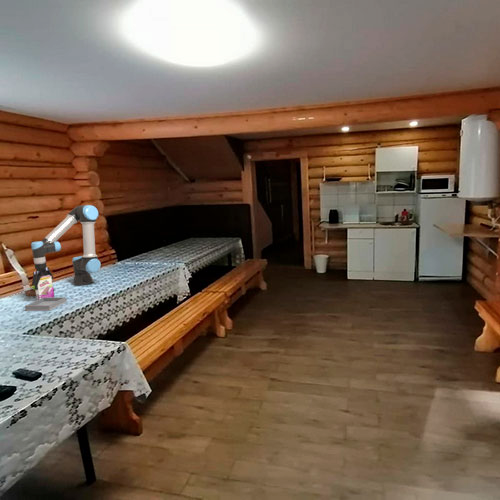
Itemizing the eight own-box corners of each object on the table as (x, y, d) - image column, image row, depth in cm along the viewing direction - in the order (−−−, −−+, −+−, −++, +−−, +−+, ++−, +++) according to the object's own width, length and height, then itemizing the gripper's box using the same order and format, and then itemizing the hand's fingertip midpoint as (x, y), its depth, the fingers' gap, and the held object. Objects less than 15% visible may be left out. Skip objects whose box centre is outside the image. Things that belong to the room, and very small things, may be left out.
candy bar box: (38, 301, 277) (35, 279, 274) (36, 299, 280) (32, 278, 277) (55, 297, 284) (51, 275, 281) (52, 295, 288) (49, 274, 285)
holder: (43, 302, 273) (43, 297, 272) (66, 301, 270) (66, 297, 269) (25, 310, 255) (24, 305, 255) (49, 310, 252) (49, 305, 252)
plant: (47, 287, 314) (44, 274, 312) (57, 291, 302) (55, 277, 300) (20, 294, 299) (18, 280, 297) (30, 298, 287) (28, 283, 285)
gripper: (46, 259, 290) (51, 286, 294) (22, 266, 266) (27, 296, 270) (55, 259, 289) (60, 286, 293) (32, 266, 265) (37, 296, 268)
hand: (44, 291), depth 281 cm, fingers open, 13 cm apart
